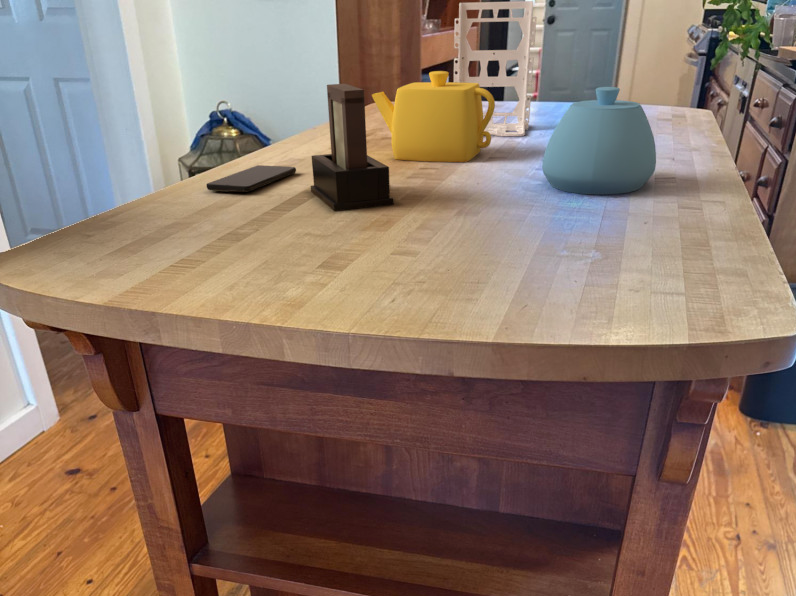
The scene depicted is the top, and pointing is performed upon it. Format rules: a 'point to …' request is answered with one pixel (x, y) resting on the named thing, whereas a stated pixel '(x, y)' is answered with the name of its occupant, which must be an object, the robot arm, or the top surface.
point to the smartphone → (250, 178)
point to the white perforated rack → (502, 55)
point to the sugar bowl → (601, 147)
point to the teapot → (437, 120)
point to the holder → (350, 184)
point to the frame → (347, 126)
